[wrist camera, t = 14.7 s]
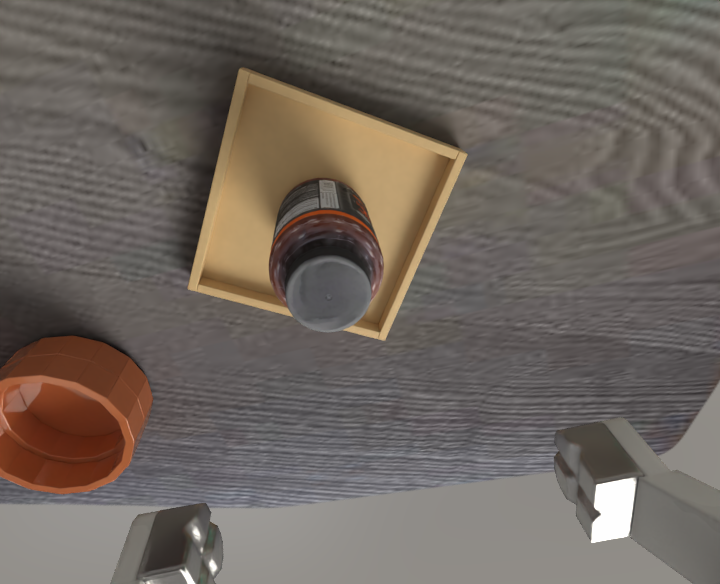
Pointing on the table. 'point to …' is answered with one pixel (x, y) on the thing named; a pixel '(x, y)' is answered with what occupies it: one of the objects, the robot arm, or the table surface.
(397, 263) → the tray
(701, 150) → the table surface
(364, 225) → the supplement bottle
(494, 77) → the table surface
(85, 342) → the bowl
